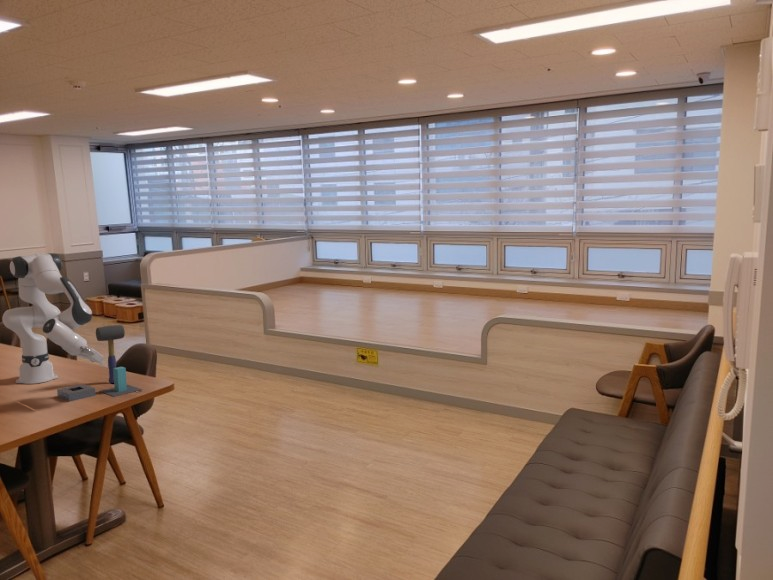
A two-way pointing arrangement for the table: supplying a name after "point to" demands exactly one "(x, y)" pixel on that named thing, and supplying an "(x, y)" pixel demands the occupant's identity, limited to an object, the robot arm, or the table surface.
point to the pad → (116, 393)
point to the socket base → (76, 392)
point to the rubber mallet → (110, 344)
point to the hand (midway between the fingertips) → (99, 362)
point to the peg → (120, 379)
